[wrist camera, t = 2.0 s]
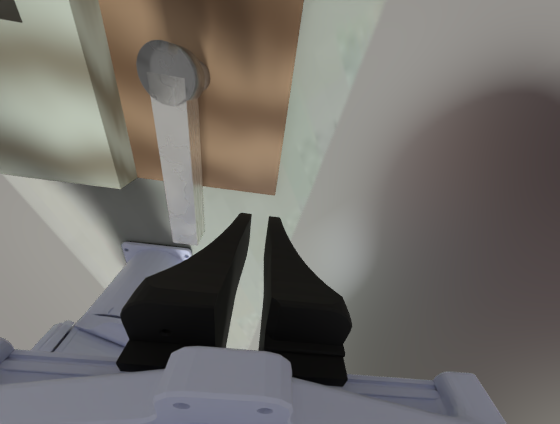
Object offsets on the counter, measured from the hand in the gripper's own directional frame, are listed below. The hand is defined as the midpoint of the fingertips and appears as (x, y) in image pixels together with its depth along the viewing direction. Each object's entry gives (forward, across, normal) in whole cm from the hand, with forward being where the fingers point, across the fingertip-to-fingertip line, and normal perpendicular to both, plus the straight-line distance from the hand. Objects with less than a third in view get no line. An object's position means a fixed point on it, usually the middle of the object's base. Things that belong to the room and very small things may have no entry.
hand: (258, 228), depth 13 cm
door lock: (+9, +11, -6) cm, 15 cm away
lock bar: (+5, +6, -2) cm, 8 cm away
